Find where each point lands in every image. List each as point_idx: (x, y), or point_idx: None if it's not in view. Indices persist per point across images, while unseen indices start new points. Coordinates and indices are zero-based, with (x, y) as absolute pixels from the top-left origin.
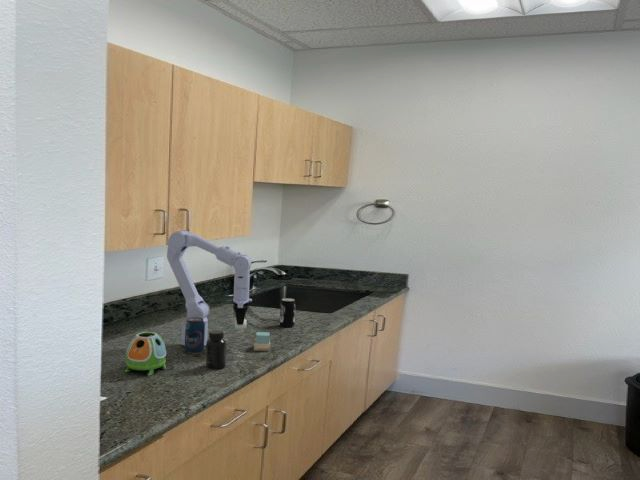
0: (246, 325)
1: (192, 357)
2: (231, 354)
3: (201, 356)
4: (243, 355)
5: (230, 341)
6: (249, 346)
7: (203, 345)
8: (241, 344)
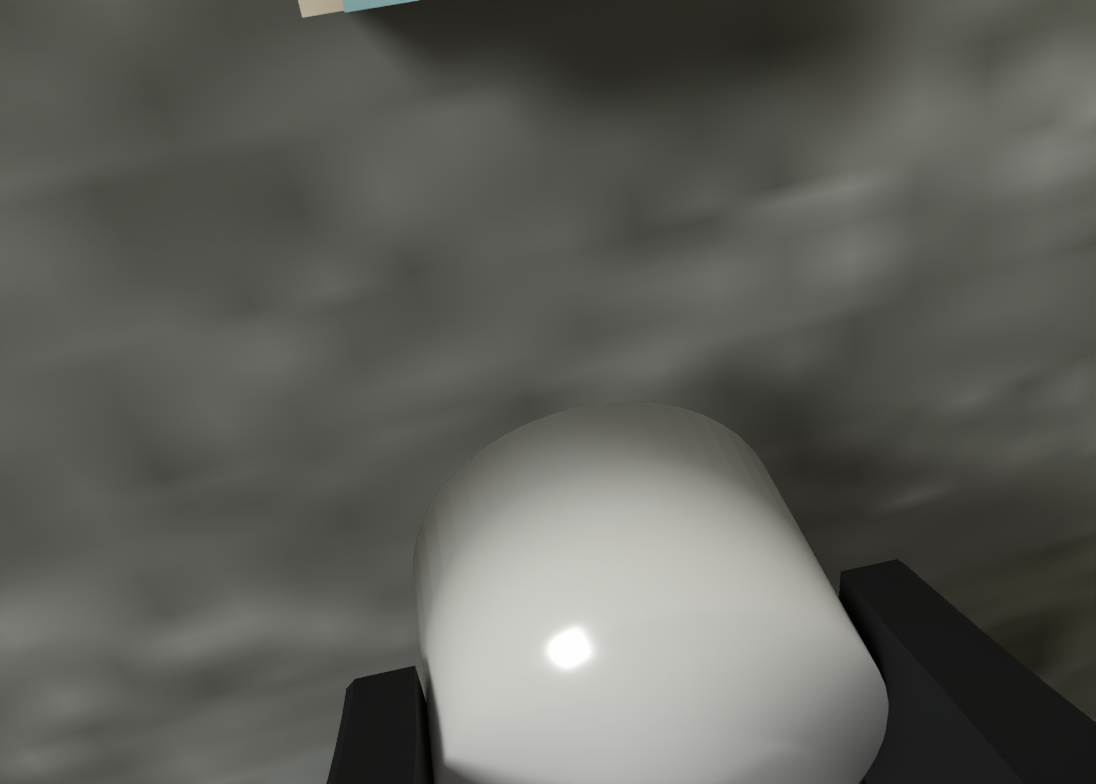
0: (617, 457)
1: (1087, 663)
2: (989, 286)
3: (1056, 602)
4: (1071, 64)
5: (123, 523)
6: (368, 85)
7: None
8: (262, 288)
